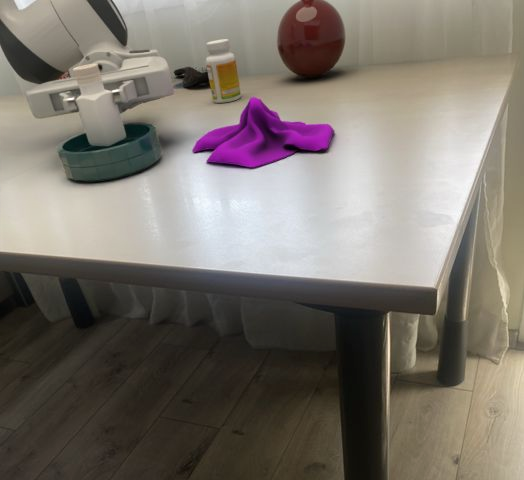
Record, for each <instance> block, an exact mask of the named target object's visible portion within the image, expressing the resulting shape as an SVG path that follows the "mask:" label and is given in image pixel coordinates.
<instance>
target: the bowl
mask: <svg viewBox="0 0 524 480" xmlns="http://www.w3.org/2000/svg"><path fill="white" fill-rule="evenodd" d="M123 126H124V129H125V133H126V138H125V139H123V140H121V141H119V142H117V143H115V144H113V145H111V146H93V145H90V143H89V141H88V138H87V135H86V132H85V131H84V132H81V133H78V134H76V135H72V136H70V137H69V138H67V139H65V140H63V141H62V142H60V143H58V145H57V146H56V148H55V149H56V153H57V155H58V157H59V160H60V163H61V166H62V168H63V171H64V174H65V176H66V178H68V179H70V180H74V181H80V182H87V183H88V182H89V183H91V182H92V183H93V182H104V181H110V180H117V179H120V178H124V177H128V176H131V175H135V174H136V173H140V172H142V171H143V170H145V169H147V168H149V167H151V166H152V165H153V164H154V163H156V162H157V161H158V160H159V159H160V158H161V157H162V153H163V152H162V147H161V143H160V140H159V135H158V131H157V127H156V126H155V125H153V124H152V123H147V122H126V123H123Z"/></svg>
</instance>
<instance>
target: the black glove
mask: <svg viewBox="0 0 524 480" xmlns="http://www.w3.org/2000/svg"><path fill="white" fill-rule="evenodd" d="M173 74H174V76H175V77H178V76H182V75H184V77H183V79H182V84H183V88H190V87H192V86H194V87H195V86H198V85H201V84H206V83H210V82H209V76H208V71H207V66H205V67H204V68H203V67H201V69H197V66H196V67H195V68H194V67H191V66H186V67H180V68H177V69H174V71H173Z"/></svg>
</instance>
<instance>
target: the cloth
mask: <svg viewBox="0 0 524 480" xmlns="http://www.w3.org/2000/svg"><path fill="white" fill-rule="evenodd" d="M334 133H335V129H334V128H333V126H332V125H330V124H328V123H313V124H312V123H310V124H309V123H308V124H306V122H303V121H287V120H286V121H285V120H282V119H281V118H280V115H279V113H278V112H276V111H275V110H272V109H270V108H269V107H268V106H267V105H266V104H265V103H264V102H263V101H262V99H261V98H258V97H255V96H252V97H249V100H248V102H247V104H246V105H245V107H244V109H243V110H242V111H241V114H240V117H239V123H237V124H232V125H227V126H223V127H218V128H214V129H212V130H210V131H208V132H207V133H206V134H204V135H203V136H201V137H200V138H199V139H198V140H196V142H195V144H194V146H193V149H192V153H197V152H200V151H205V150H213V151H212V152H211V154H210V155H209V156H208V158H207V159H206V161H205V162H206V163H218V164H229V165H237V166H241V167H242V166H243V167H246V168H257V167H261V166H264V165H267V164H270V163H274V162H277V161H280V160H283V159H285V158H287V157H290V156H291V155H294V154H295V153H296V152H298V151H299V150H308V151H312V152H317V151H320V150H328V148H329V144H330V143H331V139H332V136H333V134H334Z"/></svg>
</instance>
